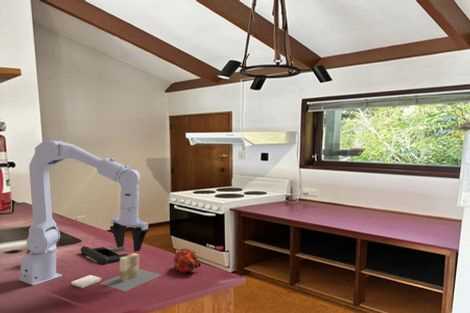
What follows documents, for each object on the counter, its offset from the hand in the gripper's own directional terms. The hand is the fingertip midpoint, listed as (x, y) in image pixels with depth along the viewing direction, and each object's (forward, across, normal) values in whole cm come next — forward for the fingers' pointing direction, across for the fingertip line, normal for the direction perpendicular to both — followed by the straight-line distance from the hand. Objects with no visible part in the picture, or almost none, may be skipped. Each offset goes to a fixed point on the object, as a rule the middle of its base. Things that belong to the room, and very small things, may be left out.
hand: (128, 248), depth 115 cm
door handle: (+11, +24, -13) cm, 29 cm away
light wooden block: (+9, 0, 0) cm, 9 cm away
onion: (+10, +37, +8) cm, 39 cm away
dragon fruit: (+10, -11, -16) cm, 22 cm away
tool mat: (+10, -2, 0) cm, 10 cm away
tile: (+9, +8, +10) cm, 15 cm away
